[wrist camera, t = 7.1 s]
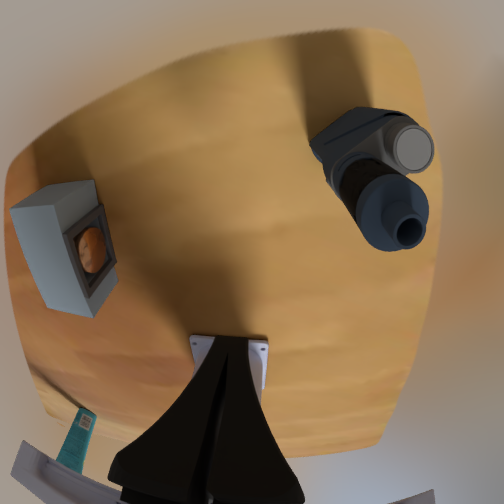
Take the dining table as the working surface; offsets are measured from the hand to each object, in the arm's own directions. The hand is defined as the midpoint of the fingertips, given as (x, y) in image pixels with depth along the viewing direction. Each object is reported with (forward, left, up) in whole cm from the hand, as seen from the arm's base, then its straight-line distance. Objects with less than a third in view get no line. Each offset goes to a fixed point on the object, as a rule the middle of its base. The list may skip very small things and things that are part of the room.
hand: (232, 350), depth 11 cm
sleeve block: (0, +16, -10) cm, 19 cm away
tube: (-49, +39, -11) cm, 64 cm away
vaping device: (+8, -6, -11) cm, 15 cm away
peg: (0, +16, -10) cm, 18 cm away
